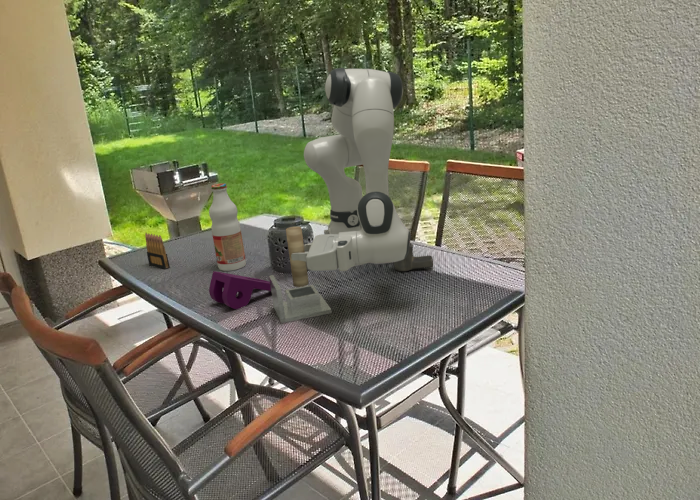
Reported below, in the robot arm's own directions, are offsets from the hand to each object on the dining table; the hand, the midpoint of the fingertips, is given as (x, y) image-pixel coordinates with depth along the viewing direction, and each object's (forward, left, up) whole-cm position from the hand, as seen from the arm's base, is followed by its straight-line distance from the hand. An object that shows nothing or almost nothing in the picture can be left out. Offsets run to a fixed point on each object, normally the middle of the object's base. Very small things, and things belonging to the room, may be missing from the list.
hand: (293, 253), depth 153 cm
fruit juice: (-50, -13, -16) cm, 54 cm away
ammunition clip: (-66, -37, -16) cm, 77 cm away
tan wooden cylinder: (0, +1, -8) cm, 9 cm away
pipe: (-14, +37, -16) cm, 43 cm away
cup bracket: (0, +1, -16) cm, 16 cm away
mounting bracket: (-17, -12, -16) cm, 26 cm away
